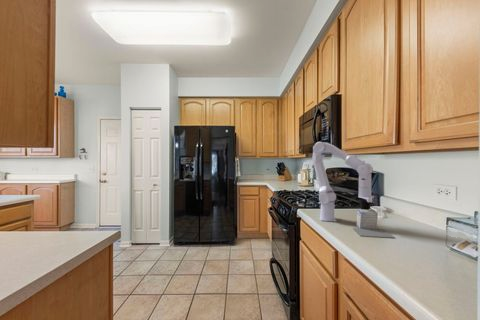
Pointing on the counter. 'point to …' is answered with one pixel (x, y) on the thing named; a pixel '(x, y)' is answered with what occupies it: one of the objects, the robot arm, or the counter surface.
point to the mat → (373, 233)
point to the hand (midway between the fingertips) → (364, 214)
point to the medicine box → (367, 219)
